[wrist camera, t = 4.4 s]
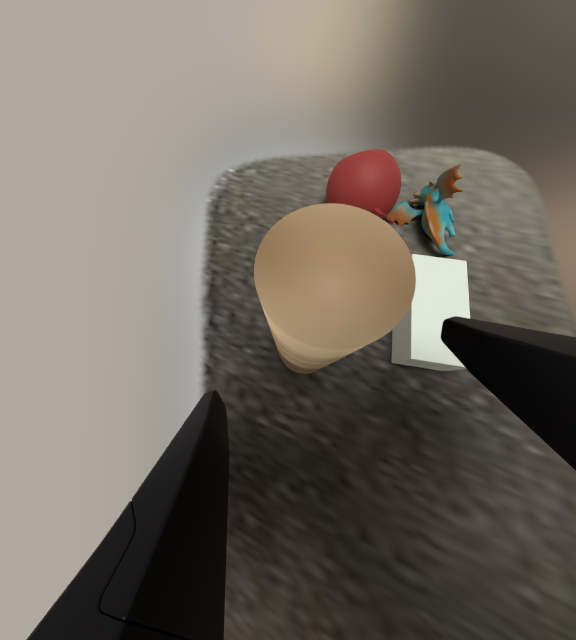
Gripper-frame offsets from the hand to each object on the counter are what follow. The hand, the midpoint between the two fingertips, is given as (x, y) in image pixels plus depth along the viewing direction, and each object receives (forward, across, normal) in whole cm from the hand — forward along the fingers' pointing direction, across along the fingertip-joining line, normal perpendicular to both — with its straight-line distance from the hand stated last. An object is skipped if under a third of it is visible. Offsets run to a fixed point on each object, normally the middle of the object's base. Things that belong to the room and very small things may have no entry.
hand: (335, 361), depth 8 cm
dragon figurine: (+14, -14, +1) cm, 20 cm away
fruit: (+16, -9, -2) cm, 18 cm away
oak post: (+8, 0, +5) cm, 10 cm away
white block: (+8, -10, +6) cm, 14 cm away
